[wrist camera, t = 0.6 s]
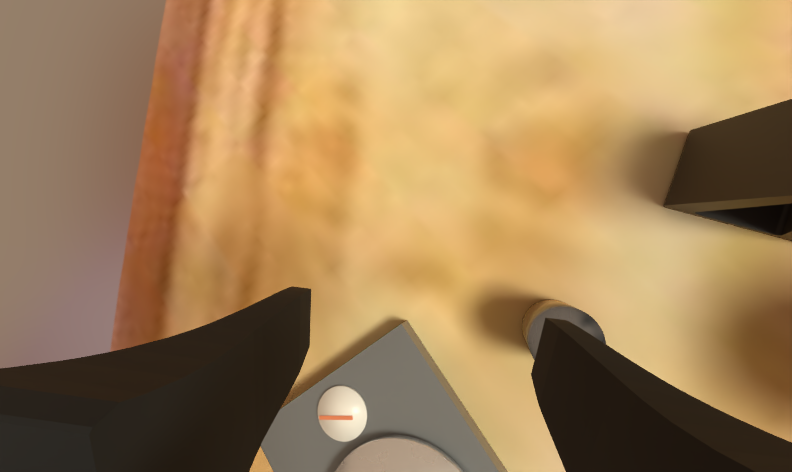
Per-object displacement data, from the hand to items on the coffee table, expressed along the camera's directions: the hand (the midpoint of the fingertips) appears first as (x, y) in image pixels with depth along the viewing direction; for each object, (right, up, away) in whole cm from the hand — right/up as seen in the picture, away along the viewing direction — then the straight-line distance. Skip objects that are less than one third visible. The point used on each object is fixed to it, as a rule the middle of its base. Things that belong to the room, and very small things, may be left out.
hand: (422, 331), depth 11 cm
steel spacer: (+12, -4, +18) cm, 22 cm away
